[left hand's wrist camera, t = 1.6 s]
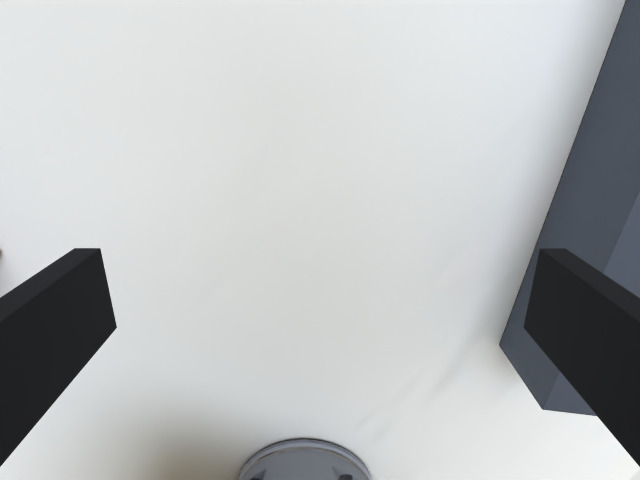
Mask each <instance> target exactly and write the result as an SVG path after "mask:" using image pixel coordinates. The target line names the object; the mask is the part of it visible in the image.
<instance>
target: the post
mask: <svg viewBox="0 0 640 480" xmlns="http://www.w3.org/2000/svg"><path fill="white" fill-rule="evenodd" d="M540 248H566V249H567V250H569V251H570V252H572V253H573V254H575V255H576V256H578V257H579V258H581V259H582V260H584V261H585V262H587V263H588V264H590V265H591V266H593V267H594V268H596V269H597V270H599V271H600V272H602V273H603V274H605V275H606V276H608V277H609V278H611V279H612V280H614V281H615V282H617V283H618V284H620V285H621V286H623V287H624V288H626V289H627V290H629V291H630V292H632V293H633V294H635V295H636V296H638V297H639V298H640V0H626V3H625V6H624V9H623V11H622V14H621V17H620V19H619V22H618V25H617V27H616V30H615V33H614V36H613V38H612V41H611V44H610V46H609V49H608V52H607V55H606V57H605V60H604V63H603V65H602V68H601V71H600V74H599V76H598V79H597V82H596V84H595V87H594V90H593V93H592V95H591V98H590V101H589V103H588V106H587V109H586V112H585V114H584V117H583V120H582V122H581V125H580V128H579V131H578V133H577V136H576V139H575V141H574V144H573V147H572V149H571V152H570V155H569V158H568V160H567V163H566V166H565V168H564V171H563V174H562V177H561V179H560V182H559V185H558V187H557V190H556V193H555V196H554V198H553V201H552V204H551V206H550V209H549V212H548V215H547V217H546V220H545V223H544V225H543V228H542V231H541V234H540V236H539V239H538V242H537V244H536V247H535V250H534V253H533V255H532V258H531V261H530V263H529V266H528V269H527V271H526V274H525V277H524V280H523V282H522V285H521V288H520V290H519V293H518V296H517V299H516V301H515V304H514V307H513V309H512V312H511V315H510V318H509V320H508V323H507V326H506V328H505V331H504V334H503V337H502V339H501V342H500V345H499V346H500V347H501V349H502V350H503V352H504V353H505V355H506V356H507V358H508V359H509V361H510V362H511V364H512V365H513V367H514V368H515V370H516V371H517V373H518V374H519V376H520V377H521V378H522V380H523V381H524V383H525V384H526V386H527V387H528V389H529V390H530V392H531V393H532V395H533V396H534V398H535V399H536V401H537V402H538V404H539V405H540V407H541V408H542V409H543V410H551V411H559V412H568V413H576V414H584V415H593V416H597V415H596V414H595V413H594V411H593V410H592V409H591V408H590V407H589V405H588V404H587V403H586V402H585V401H584V400H583V398H582V397H581V396H580V395H579V394H578V392H577V391H576V390H575V389H574V388H573V386H572V385H571V384H570V383H569V382H568V380H567V379H566V378H565V377H564V376H563V374H562V373H561V372H560V371H559V370H558V368H557V367H556V366H555V365H554V364H553V362H552V361H551V360H550V359H549V358H548V356H547V355H546V354H545V353H544V352H543V351H542V349H541V348H540V347H539V346H538V345H537V343H536V342H535V341H534V340H533V339H532V337H531V336H530V335H529V334H528V333H527V331H526V330H525V329H524V328H523V326H524V322H525V317H526V312H527V307H528V302H529V298H530V293H531V288H532V283H533V278H534V274H535V269H536V264H537V259H538V255H539V250H540Z"/></svg>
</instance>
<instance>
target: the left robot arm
mask: <svg viewBox="0 0 640 480" xmlns="http://www.w3.org/2000/svg"><path fill="white" fill-rule="evenodd" d="M116 328H117V326H116V322H115V317H114V312H113V307H112V302H111V298H110V293H109V288H108V283H107V279H106V274H105V269H104V264H103V259H102V255H101V250H100V248H74V249H73V250H71V251H70V252H68V253H67V254H65V255H64V256H62V257H61V258H59V259H58V260H56V261H55V262H53V263H52V264H50V265H49V266H47V267H46V268H44V269H43V270H41V271H40V272H38V273H37V274H35V275H34V276H32V277H31V278H29V279H28V280H26V281H25V282H23V283H22V284H20V285H19V286H17V287H16V288H14V289H13V290H11V291H10V292H8V293H7V294H5V295H4V296H2V297H1V298H0V466H1V465H2V464H3V463H4V462H5V460H6V459H7V458H8V457H9V456H10V454H11V453H12V452H13V451H14V450H15V448H16V447H17V446H18V445H19V444H20V443H21V441H22V440H23V439H24V438H25V437H26V435H27V434H28V433H29V432H30V431H31V429H32V428H33V427H34V426H35V425H36V423H37V422H38V421H39V420H40V419H41V417H42V416H43V415H44V414H45V413H46V411H47V410H48V409H49V408H50V407H51V405H52V404H53V403H54V402H55V401H56V400H57V398H58V397H59V396H60V395H61V394H62V392H63V391H64V390H65V389H66V388H67V386H68V385H69V384H70V383H71V382H72V380H73V379H74V378H75V377H76V376H77V374H78V373H79V372H80V371H81V370H82V368H83V367H84V366H85V365H86V364H87V362H88V361H89V360H90V359H91V358H92V356H93V355H94V354H95V353H96V352H97V351H98V349H99V348H100V347H101V346H102V345H103V343H104V342H105V341H106V340H107V339H108V337H109V336H110V335H111V334H112V333H113V331H114V330H115V329H116ZM523 328H524V329H525V330H526V331H527V333H528V334H529V335H530V336H531V337H532V339H533V340H534V341H535V342H536V343H537V345H538V346H539V347H540V348H541V349H542V351H543V352H544V353H545V354H546V355H547V356H548V358H549V359H550V360H551V361H552V362H553V364H554V365H555V366H556V367H557V368H558V370H559V371H560V372H561V373H562V374H563V376H564V377H565V378H566V379H567V380H568V382H569V383H570V384H571V385H572V386H573V388H574V389H575V390H576V391H577V392H578V394H579V395H580V396H581V397H582V398H583V400H584V401H585V402H586V403H587V404H588V405H589V407H590V408H591V409H592V410H593V411H594V413H595V414H596V415H597V416H598V417H599V419H600V420H601V421H602V422H603V423H604V425H605V426H606V427H607V428H608V429H609V431H610V432H611V433H612V434H613V435H614V437H615V438H616V439H617V440H618V441H619V443H620V444H621V445H622V446H623V447H624V448H625V450H626V451H627V452H628V453H629V454H630V456H631V457H632V458H633V459H634V460H635V462H636V463H637V464H638V465H639V466H640V298H639V297H638V296H636V295H635V294H633V293H632V292H630V291H629V290H627V289H626V288H624V287H623V286H621V285H620V284H618V283H617V282H615V281H614V280H612V279H611V278H609V277H608V276H606V275H605V274H603V273H602V272H600V271H599V270H597V269H596V268H594V267H593V266H591V265H590V264H588V263H587V262H585V261H584V260H582V259H581V258H579V257H578V256H576V255H575V254H573V253H572V252H570V251H569V250H567V249H566V248H540V250H539V255H538V259H537V264H536V269H535V274H534V278H533V283H532V288H531V293H530V298H529V302H528V307H527V312H526V317H525V322H524V326H523ZM238 480H371V476H370V474H369V472H368V470H367V468H366V467H365V465H364V464H363V463H362V462H361V461H360V460H359V459H358V458H357V457H356V456H355V455H353V454H352V453H351V452H349V451H347V450H346V449H344V448H342V447H340V446H337V445H334V444H331V443H328V442H324V441H318V440H308V439H299V440H290V441H284V442H280V443H277V444H274V445H271V446H269V447H267V448H265V449H263V450H261V451H259V452H258V453H256V454H255V455H254V456H253V457H252V458H251V459H250V460H249V461H248V462H247V463H246V464H245V466H244V467H243V469H242V471H241V473H240V476H239V479H238Z"/></svg>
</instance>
